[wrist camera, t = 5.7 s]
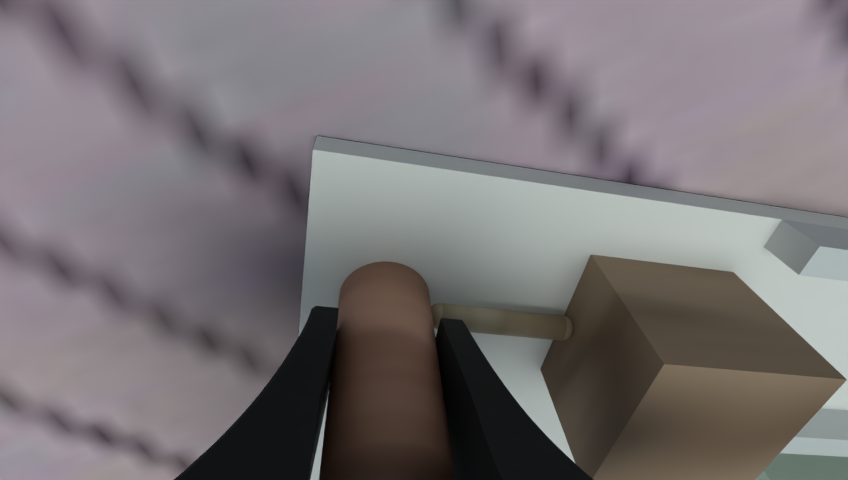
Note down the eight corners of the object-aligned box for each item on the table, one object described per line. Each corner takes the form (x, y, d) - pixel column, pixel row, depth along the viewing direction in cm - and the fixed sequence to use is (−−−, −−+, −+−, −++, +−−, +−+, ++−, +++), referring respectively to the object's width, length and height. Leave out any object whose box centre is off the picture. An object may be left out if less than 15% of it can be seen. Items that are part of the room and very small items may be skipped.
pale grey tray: (779, 508, 26) (815, 558, 24) (287, 492, 22) (278, 552, 20) (1045, 247, 18) (1136, 290, 15) (317, 135, 13) (305, 174, 11)
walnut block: (664, 378, 18) (775, 549, 13) (331, 352, 16) (310, 542, 11) (733, 272, 16) (903, 432, 11) (348, 224, 14) (329, 395, 8)
